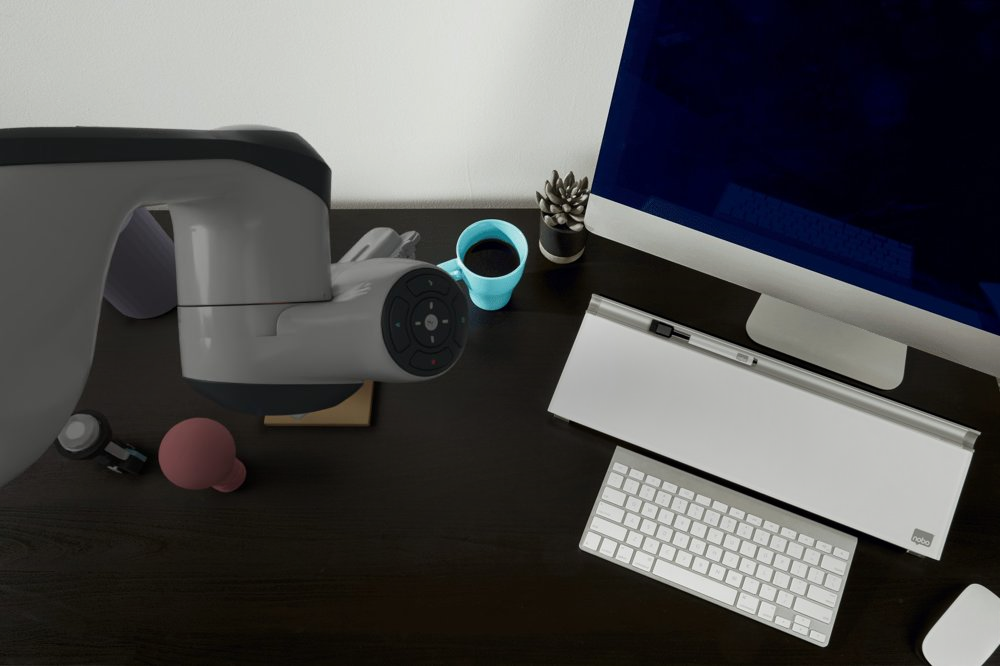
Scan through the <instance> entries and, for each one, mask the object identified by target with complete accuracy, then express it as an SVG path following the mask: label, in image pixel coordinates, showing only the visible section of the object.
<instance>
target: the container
mask: <svg viewBox="0 0 1000 666" xmlns="http://www.w3.org/2000/svg"><path fill="white" fill-rule="evenodd" d="M103 298H104V299H105V300H106V301H108V302H109V303H110V304H111V305H112V306H113V307H114V308H115V309H116V310H117V311H119V312H120V313H121V314H123V315H124V316H126V317H129V318H132V319H133V318H134V319H139V320H140V319H142V320H143V319H144V320H145V319H151V318H155V317H158V316H161V315H163V314H165V313H167V312H169V311H171V310H173V308H175V307H176V306H178V295H177V279H176V263H175V246H174V240H172V239H171V237H170V236H169V235H168V234H167V233H166V231H165V230H164V229H163V227H162V226H161V225H160V223H159V222H158V221H157V220H156V219H155V218H154V216H153V215H152V214H151V212H150V211H149V210H148V209H147V207H140V208H136V209H135V210H134V211H133V212H132V213H131V214H130V216H129V217H128V218H127V220H126V222H125V223H124V225H123V227H122V230H121V232H120V234H119V237H118V240H117V243H116V245H115V248H114V252H113V255H112V259H111V262H110V266H109V270H108V274H107V278H106V283H105V288H104V294H103Z"/></svg>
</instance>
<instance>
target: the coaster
mask: <svg viewBox="0 0 1000 666" xmlns="http://www.w3.org/2000/svg"><path fill="white" fill-rule="evenodd" d="M375 382H376V381H364V385H363V386H362V387H361V388H360V389H359V390H358V391H357V392H356V393H355V394H353V395H352V396H351V397H349V398H348V399H346V400H345V401H343V402H342V403H340V404H339V405H337V406H335V407H332V408H329V409H325V410H321V411H316V412H311V413H308V414H307V415H306V416H304V417H303V418H300V419H294V418H293V417H291V416H290V415H283V416H264V420H263V424H264V425H265V426H266V427H370V426H371V418H372V409H373V400H374V390H375Z"/></svg>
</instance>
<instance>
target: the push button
mask: <svg viewBox="0 0 1000 666" xmlns="http://www.w3.org/2000/svg"><path fill="white" fill-rule="evenodd" d="M98 421H99V422H98ZM54 445H55V449H56V452H58V454H59V455H60V456H62V457H64V458H65V459H66V460H67V459H68V460H70V461H91V460H92V461H94V462H96V463H97V464H100V465H103V466H105V467H107V468H108V469H109V470H111V471H114V472H115V473H118V474H119V473H120V474H123V472H122V471H121V470H124V471H126V472H128V473H130V474H132V475H136V476H139V475H140V473H141V471H142V469H143V467H144V465H145V462H146V461H147V459H148V457H147V456H145V455H144V454H142V453H140V452H139V451H136V450H135V449H136V448H135V447H134V446H132V445H130V444H129V443H126V442H125V441H124V440H122V439H120V438H119V437H116V436H113V429H112V427H111V425H110V422H109V420H108V419H107V417H106V416H105V415H104V414H103V413H102V412H100V411H98V410H96V409H91V408H86V409H80V410H78V411H75V412H73V413H72V415H71V416H70V418H69V420H68V422H67V423H66V425H65V426H64V428H63V430H62V431H61V432H60V434H59V435H58V437H57V438H56V439H55V441H54ZM118 468H119V469H121V470H119V469H118Z"/></svg>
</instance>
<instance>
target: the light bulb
mask: <svg viewBox="0 0 1000 666" xmlns="http://www.w3.org/2000/svg"><path fill="white" fill-rule="evenodd" d="M236 451H237V449H236V444H235V441H234V438H233V435H232V434H231V433H230V431H229V430H228V429H227V428H226V426H224V425H223V424H221V423H220V422H218V421H217V420H214V419H212V418H207V417H192V418H188V419H185V420H182V421H180V422H179V423H176V424H175V425H173V426H172V428H170V429H169V430H168V431H167V432H166V434H165V435H164V436H163V438H162V440H161V442H160V445H159V449H158V463H159V467H160V469H161V471H162V473H163V475H164V476H165V477H166V478H167V480H168V481H169V482H170V483H173V484H174V485H175V486H177V487H179V488H182V489H186V490H191V491H192V490H193V491H197V490H205V489H207V488H208V489H209V488H210V487H211V488H213V489H214V490H216V491H219V492H222V493H230V492H233V491H235V490H237V489H238V488H240V487H241V485H242V484H243V483H244V482H245V480H246V476H247V469H246V467H245V465H244V463H243V462H242V461H241V460H240V459H238V457H236V453H237V452H236Z"/></svg>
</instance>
